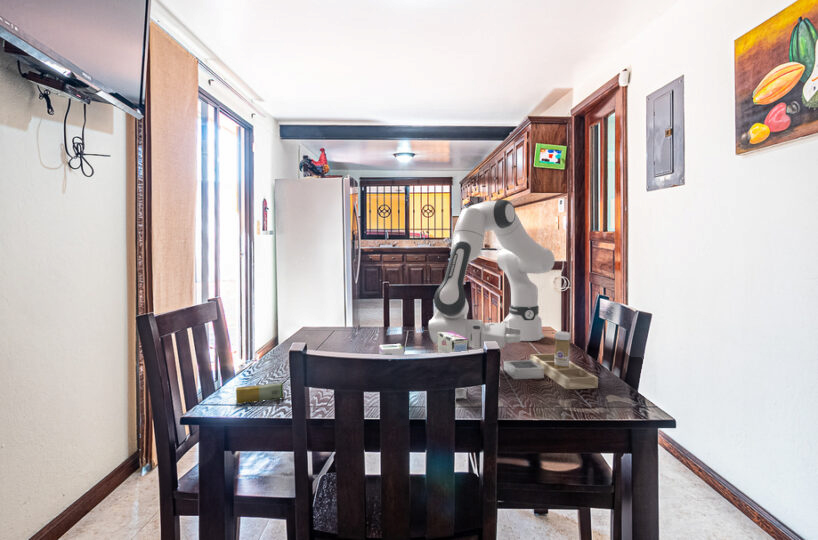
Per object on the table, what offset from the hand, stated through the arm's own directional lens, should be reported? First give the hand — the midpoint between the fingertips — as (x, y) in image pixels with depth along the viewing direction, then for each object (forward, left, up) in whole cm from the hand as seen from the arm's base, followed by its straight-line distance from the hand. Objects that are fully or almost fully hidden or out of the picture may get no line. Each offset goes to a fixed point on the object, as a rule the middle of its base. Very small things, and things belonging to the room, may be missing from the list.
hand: (520, 335), depth 140 cm
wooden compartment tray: (+5, +12, -12) cm, 17 cm away
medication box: (+15, -78, -12) cm, 80 cm away
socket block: (+3, 0, -12) cm, 12 cm away
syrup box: (+19, -43, -12) cm, 48 cm away
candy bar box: (+17, -26, -12) cm, 33 cm away
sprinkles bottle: (+5, +12, -12) cm, 17 cm away
